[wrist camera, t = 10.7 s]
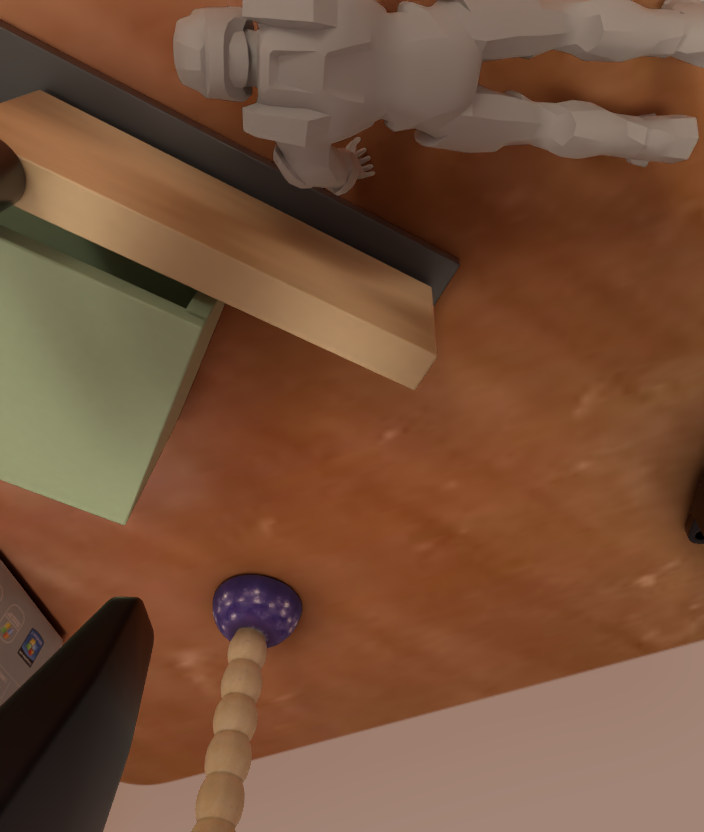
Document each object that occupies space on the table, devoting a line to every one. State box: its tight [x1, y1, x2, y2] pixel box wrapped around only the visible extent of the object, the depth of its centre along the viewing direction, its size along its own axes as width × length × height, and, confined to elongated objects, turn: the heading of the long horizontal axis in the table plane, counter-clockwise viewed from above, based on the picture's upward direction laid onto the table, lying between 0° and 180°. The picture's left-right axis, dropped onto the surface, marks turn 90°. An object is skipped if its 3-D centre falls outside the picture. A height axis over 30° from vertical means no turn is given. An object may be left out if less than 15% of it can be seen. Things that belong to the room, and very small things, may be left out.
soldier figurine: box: [173, 0, 704, 196], centre depth 14 cm, size 6×5×12 cm
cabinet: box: [0, 21, 460, 525], centre depth 18 cm, size 20×10×6 cm, turn 64°
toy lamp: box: [192, 575, 302, 832], centre depth 23 cm, size 5×5×17 cm
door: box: [0, 90, 437, 390], centre depth 14 cm, size 12×2×10 cm, turn 64°
